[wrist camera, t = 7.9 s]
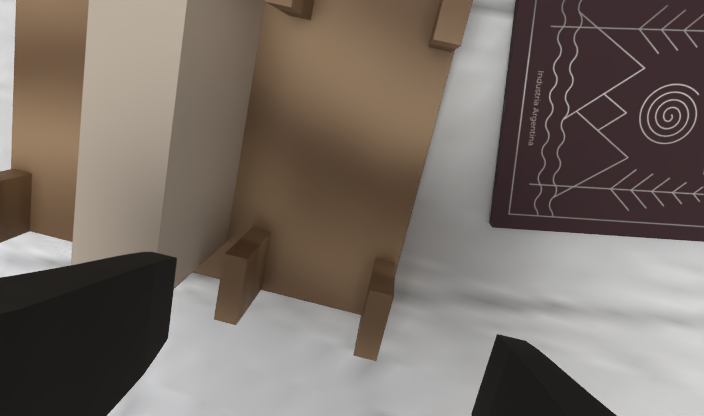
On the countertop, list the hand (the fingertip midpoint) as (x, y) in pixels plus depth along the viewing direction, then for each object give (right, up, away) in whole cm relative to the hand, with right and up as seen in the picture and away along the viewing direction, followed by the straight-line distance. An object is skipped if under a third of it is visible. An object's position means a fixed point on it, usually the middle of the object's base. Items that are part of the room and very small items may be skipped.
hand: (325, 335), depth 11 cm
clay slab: (-4, +6, +7) cm, 11 cm away
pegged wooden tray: (-4, +7, +8) cm, 12 cm away
